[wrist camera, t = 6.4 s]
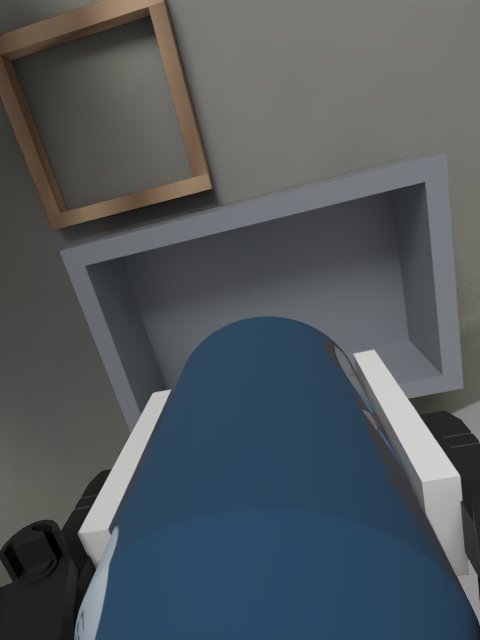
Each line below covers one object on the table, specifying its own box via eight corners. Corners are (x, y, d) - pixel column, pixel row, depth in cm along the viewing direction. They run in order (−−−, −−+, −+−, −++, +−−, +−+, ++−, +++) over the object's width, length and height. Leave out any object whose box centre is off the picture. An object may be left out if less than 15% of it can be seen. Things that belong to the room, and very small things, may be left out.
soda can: (157, 410, 17) (-51, 853, 6) (234, 273, 15) (144, 544, 4) (295, 479, 18) (351, 991, 6) (386, 358, 16) (706, 800, 4)
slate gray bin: (158, 399, 34) (136, 448, 28) (100, 236, 30) (59, 251, 24) (423, 347, 32) (463, 388, 25) (403, 159, 27) (446, 152, 21)
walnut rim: (60, 228, 30) (52, 230, 29) (-9, 47, 26) (-21, 41, 25) (213, 188, 28) (211, 188, 27) (163, -10, 25) (158, -19, 23)
